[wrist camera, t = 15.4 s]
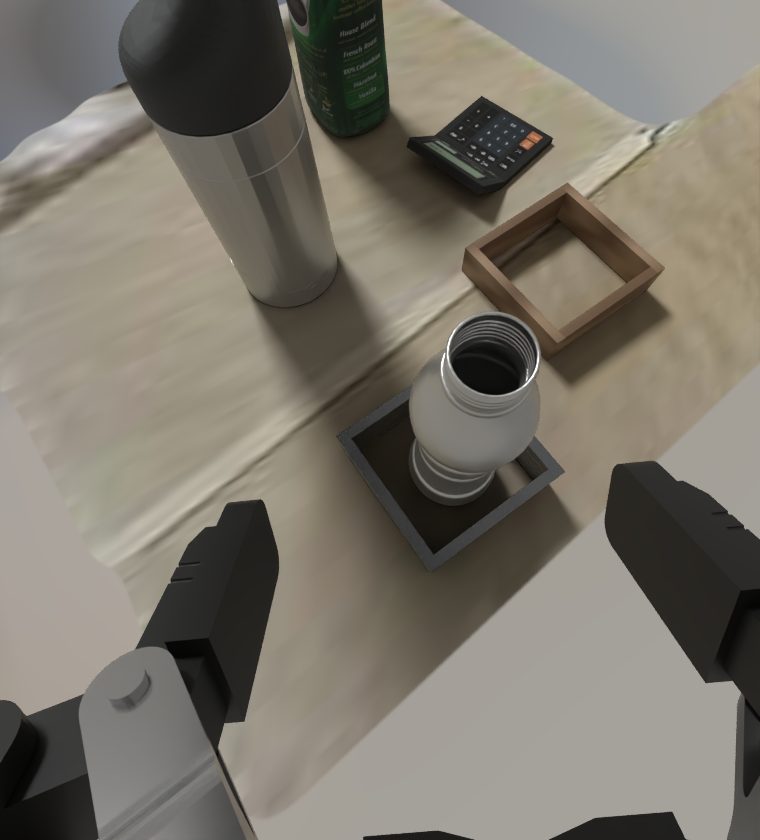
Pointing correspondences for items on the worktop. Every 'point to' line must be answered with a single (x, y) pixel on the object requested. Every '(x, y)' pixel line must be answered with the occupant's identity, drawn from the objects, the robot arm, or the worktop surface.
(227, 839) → the robot arm
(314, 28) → the coffee jar
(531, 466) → the gray square tray
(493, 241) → the wooden square tray
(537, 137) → the calculator
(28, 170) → the worktop surface
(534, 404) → the silver metal bottle
